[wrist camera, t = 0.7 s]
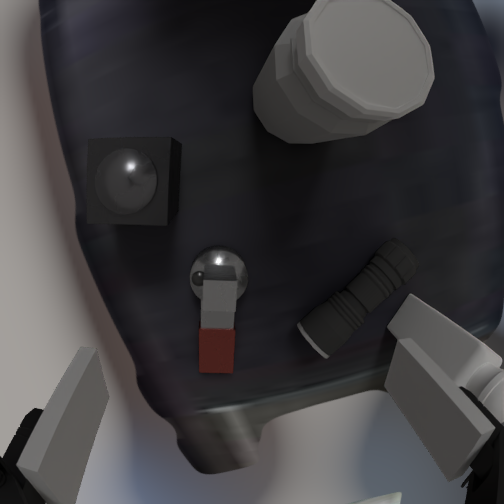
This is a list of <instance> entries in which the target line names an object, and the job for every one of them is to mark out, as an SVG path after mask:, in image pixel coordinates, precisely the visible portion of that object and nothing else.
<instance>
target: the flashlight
mask: <svg viewBox="0 0 504 504" xmlns="http://www.w3.org/2000/svg"><path fill="white" fill-rule="evenodd" d="M418 267H419V263H418V261H417V259H416V257H415V256H414V254H413V253H412V252H411V251H410V250H409V249H408V248H407V247H406V246H405V245H404V244H403V243H402V242H400V241H399V240H397V239H395V238H392V239H391V240H390V241H386V242H385V243H384V244H383V245H382V246H381V247H380V248H379V249H378V250H377V251H376V252H375V257H374V258H373V259H372V260H371V261H370V264H369V265H366V266H365V268H364V269H362V270H361V273H360V274H359V275H358V276H357V277H356V278H354V279H353V280H352V281H351V282H350V283H349V284H348V285H347V286H346V288H347V289H346V290H343V291H342V292H341V293H339V292H338V291H337V292H335V295H332V296H331V298H328V301H326V302H325V303H323V304H321V305H319V306H317V307H316V308H314V309H313V310H312V311H311V312H310V313H309V314H308V315H307V316H306V317H304V318H303V319H302V320H301V321H300V322H299V323H298V324H297V326H298V328H299V330H300V332H301V333H302V335H303V336H304V337H305V338H306V340H307V341H308V342H309V343H310V344H311V345H312V347H313V348H314V349H315V350H316V351H317V352H318V353H320V354H321V355H322V356H323V357H324V358H326V359H327V358H328V357H329V356H330V355H332V354H333V353H334V352H335V351H336V350H338V349H339V348H340V347H341V346H342V345H343V344H345V343H346V342H347V340H348V339H349V337H350V336H351V334H352V333H353V332H354V330H357V328H358V327H360V326H361V324H364V320H363V318H364V317H365V316H366V313H367V312H369V313H371V312H372V311H373V310H374V309H375V308H376V307H377V306H378V305H379V304H380V303H381V302H382V301H383V300H384V299H386V298H388V297H389V295H391V294H392V291H393V290H397V289H398V288H399V287H400V286H401V285H405V284H406V283H407V282H408V281H409V280H410V279H411V278H412V277H413V276H414V275H415V274H416V269H417V268H418Z"/></svg>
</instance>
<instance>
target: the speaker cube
mask: <svg viewBox="0 0 504 504" xmlns="http://www.w3.org/2000/svg"><path fill="white" fill-rule="evenodd" d="M181 148H182V144H181V143H180V142H178V141H176V140H175V139H173V138H172V137H125V138H98V139H89V140H88V158H87V224H126V225H159V226H167V225H168V224H169V223H170V221H171V220H172V219H173V218H174V216H175V215H176V214H177V212H178V208H179V183H180V164H181Z"/></svg>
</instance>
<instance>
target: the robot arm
mask: <svg viewBox="0 0 504 504" xmlns="http://www.w3.org/2000/svg"><path fill="white" fill-rule="evenodd" d="M384 387H385V388H386V390H387V391H388V393H389V394H390V395H391V397H392V398H393V400H394V401H395V403H396V404H397V405H398V407H399V409H400V410H401V411H402V413H403V414H404V416H405V417H406V419H407V420H408V422H409V423H410V424H411V426H412V428H413V429H414V431H415V432H416V434H417V435H418V436H419V438H420V440H421V441H422V442H423V444H424V445H425V447H426V448H427V450H428V452H429V453H430V455H431V456H432V458H433V459H434V461H435V462H436V464H437V465H438V467H439V468H440V470H441V471H442V473H443V474H444V476H445V477H446V479H447V481H449V482H450V481H452V480H454V479H456V478H458V477H460V476H462V475H463V474H464V473H465V471H466V470H467V469H468V467H469V466H470V467H471V468H472V469H473V471H472V472H471V473H470V475H469V476H468V477H467V478H466V479H465V481H464V482H463V483H462V485H461V487H462V488H463V487H464V486H465V484H466V483H467V482H468V481H469V483H468V486H467V487H466V488H468V489H467V495H466V500H465V504H504V426H503V425H502V424H501V423H500V422H499V421H498V420H497V419H496V418H495V417H494V416H493V415H492V413H491V412H490V411H489V410H488V409H487V408H486V407H485V406H483V404H482V403H481V402H480V401H478V399H477V397H476V396H475V395H474V394H473V393H472V392H471V391H469V390H467V389H465V388H464V387H462V386H461V387H458V386H457V385H456V384H455V383H454V382H453V381H452V380H451V379H450V378H449V377H448V376H447V374H446V373H445V372H444V371H443V370H442V369H441V368H440V367H439V366H438V365H437V364H436V363H435V362H434V361H433V360H432V359H431V358H430V357H429V356H428V355H427V354H426V353H425V352H424V351H423V350H422V349H421V348H420V347H419V346H418V345H417V344H416V343H415V342H414V341H413V340H412V339H411V338H406V339H399V340H397V344H396V347H395V351H394V354H393V358H392V361H391V365H390V368H389V371H388V374H387V378H386V381H385V384H384ZM108 399H109V394H108V391H107V387H106V383H105V380H104V376H103V372H102V368H101V364H100V360H99V356H98V352H97V349H96V348H88V347H80V349H79V350H78V352H77V354H76V356H75V357H74V359H73V360H72V362H71V364H70V365H69V367H68V369H67V370H66V372H65V374H64V375H63V377H62V379H61V380H60V382H59V384H58V386H57V387H56V389H55V391H54V393H53V395H52V396H51V398H50V400H49V402H48V404H47V405H46V407H45V409H44V410H42V409H37V408H34V409H33V410H32V411H30V412H29V413H28V414H27V415H26V416H25V417H24V419H23V421H22V423H21V424H20V427H19V428H18V430H17V431H16V435H14V437H13V439H12V441H11V443H10V444H9V446H8V448H7V450H6V452H5V454H4V456H3V458H1V456H0V504H45V503H47V504H75V503H76V499H77V495H78V492H79V488H80V485H81V481H82V478H83V475H84V471H85V468H86V465H87V462H88V458H89V455H90V452H91V449H92V446H93V443H94V440H95V437H96V434H97V430H98V428H99V425H100V422H101V419H102V416H103V414H104V411H105V408H106V405H107V402H108Z"/></svg>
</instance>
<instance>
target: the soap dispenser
mask: <svg viewBox="0 0 504 504" xmlns="http://www.w3.org/2000/svg"><path fill="white" fill-rule="evenodd" d="M387 328H388V329H389V331H390V332H391V333H392V334H393V335H394V336H395V337H396V339H397V340H399V339H406V338H411V339H412V340H413V341H414V342H415V343H416V344H417V345H418V346H419V347H420V348H421V349H422V350H423V351H424V352H425V353H426V354H427V355H428V356H429V357H430V358H431V359H432V360H433V361H434V362H435V363H436V364H437V365H438V366H439V367H440V368H441V369H442V370H443V371H444V372H445V373H446V374H447V376H448V377H449V378H450V379H451V380H452V381H453V382H454V383H455V384H456V385H457V386H458V387H461V386H462V387H464V388H465V389H467V390H469V391H471V392H472V393H473V394H474V395H475V396H476V397H477V399H478V401H480V402H481V403H482V404H483V406H485V407H486V408H487V409H488V410H489V411H490V412H491V413H492V415H493V416H494V417H495V418H496V419H497V420H498V421H499V422H500V423H503V422H504V369H500V366H501V364H502V358H501V357H500V356H499V355H497V354H496V353H495V352H494V351H493V350H491V349H490V348H489V347H488V346H486V345H485V344H484V343H483V342H481V341H480V340H478V339H477V338H476V337H474V336H473V335H471V334H470V333H469V332H467V331H466V330H464V329H463V328H461V327H460V326H459V325H457V324H456V323H454V322H453V321H451V320H450V319H448V318H447V317H445V316H444V315H443V314H441V313H440V312H438V311H437V310H435V309H434V308H432V307H431V306H429V305H428V304H426V303H425V302H423V301H422V300H420V299H419V298H417V297H416V296H414V295H413V294H409V295H408V296H407V298H406V299H405V301H404V302H403V304H402V305H401V307H400V308H399V310H398V311H397V313H396V314H395V316H394V317H393V318H392V320H391V321H390V323H389V324H388V326H387Z"/></svg>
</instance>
